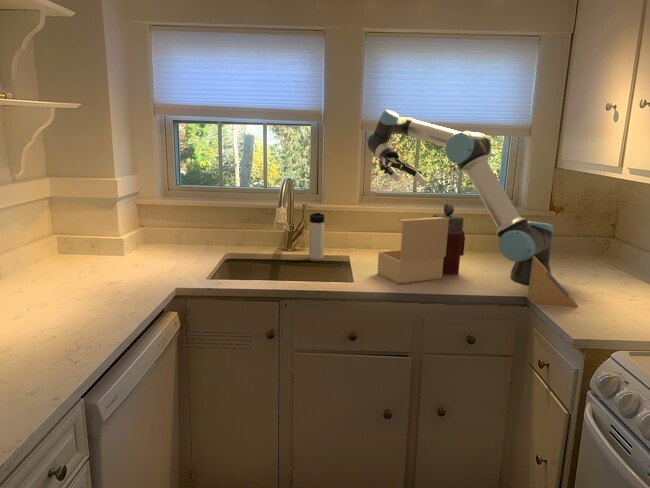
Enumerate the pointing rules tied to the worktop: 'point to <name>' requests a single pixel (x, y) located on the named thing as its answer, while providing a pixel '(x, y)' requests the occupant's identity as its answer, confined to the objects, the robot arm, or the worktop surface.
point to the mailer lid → (424, 238)
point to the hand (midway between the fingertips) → (410, 180)
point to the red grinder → (453, 241)
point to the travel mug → (316, 237)
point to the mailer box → (408, 268)
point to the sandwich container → (547, 287)
